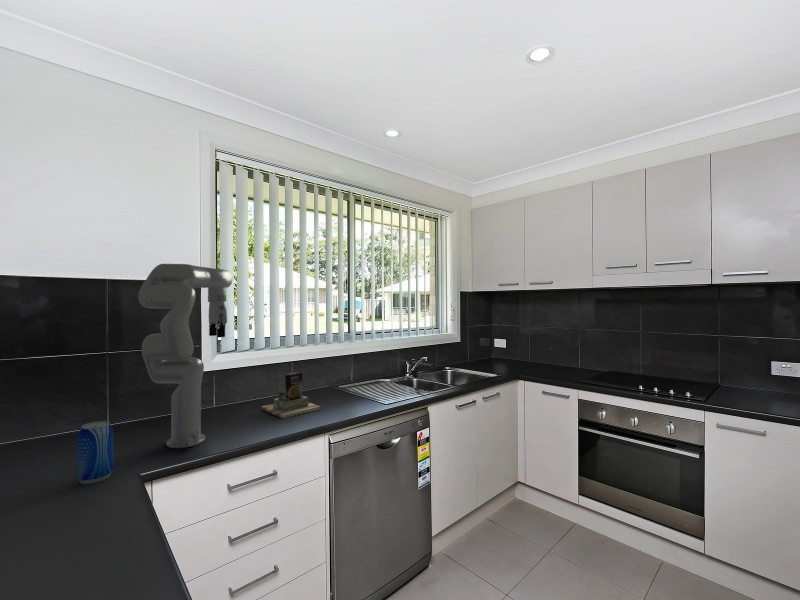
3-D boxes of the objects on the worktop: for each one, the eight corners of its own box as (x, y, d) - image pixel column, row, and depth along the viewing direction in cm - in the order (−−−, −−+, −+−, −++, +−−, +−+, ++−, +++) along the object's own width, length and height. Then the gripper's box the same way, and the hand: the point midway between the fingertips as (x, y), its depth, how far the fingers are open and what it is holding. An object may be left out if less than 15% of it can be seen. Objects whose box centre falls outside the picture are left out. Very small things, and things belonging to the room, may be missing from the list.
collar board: (320, 409, 183) (320, 398, 183) (282, 418, 168) (282, 406, 168) (298, 401, 197) (298, 391, 197) (261, 409, 182) (261, 398, 182)
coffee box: (286, 409, 177) (286, 375, 177) (278, 407, 181) (278, 373, 181) (302, 405, 184) (302, 372, 184) (294, 403, 188) (294, 371, 188)
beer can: (71, 481, 110) (71, 426, 110) (104, 469, 117) (104, 418, 117) (85, 487, 106) (85, 431, 106) (118, 475, 113) (119, 422, 113)
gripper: (233, 299, 169) (233, 337, 169) (218, 299, 181) (218, 334, 181) (215, 299, 163) (215, 338, 163) (201, 298, 175) (201, 335, 175)
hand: (217, 336), depth 172 cm, fingers open, 9 cm apart
